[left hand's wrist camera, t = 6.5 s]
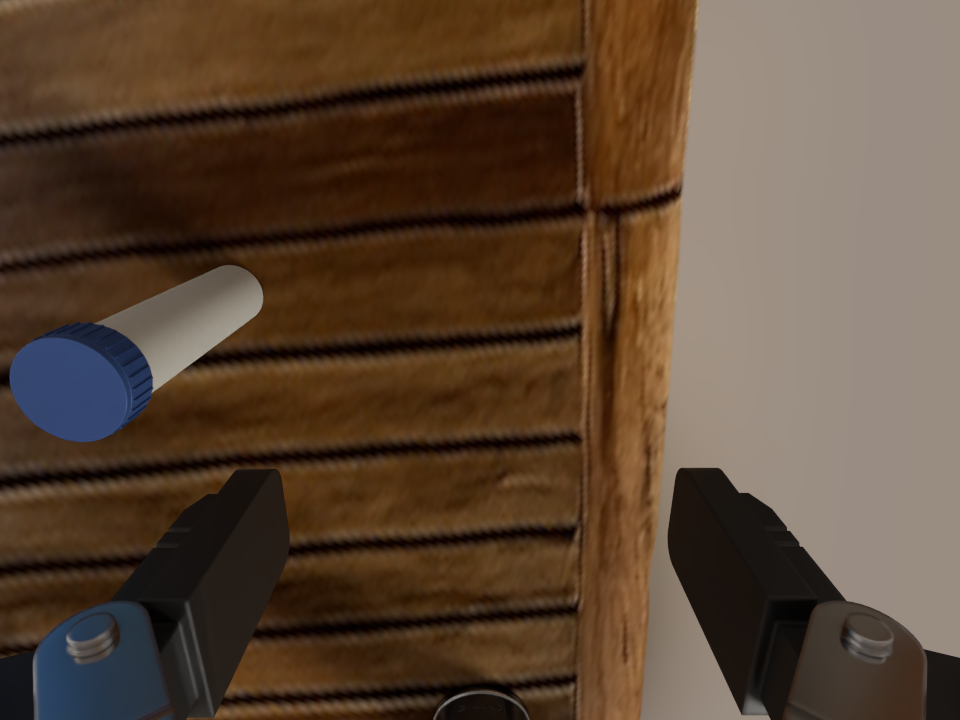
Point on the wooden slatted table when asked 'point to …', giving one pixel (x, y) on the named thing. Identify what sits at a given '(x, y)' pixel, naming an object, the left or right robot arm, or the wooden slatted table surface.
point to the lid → (81, 381)
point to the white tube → (189, 319)
